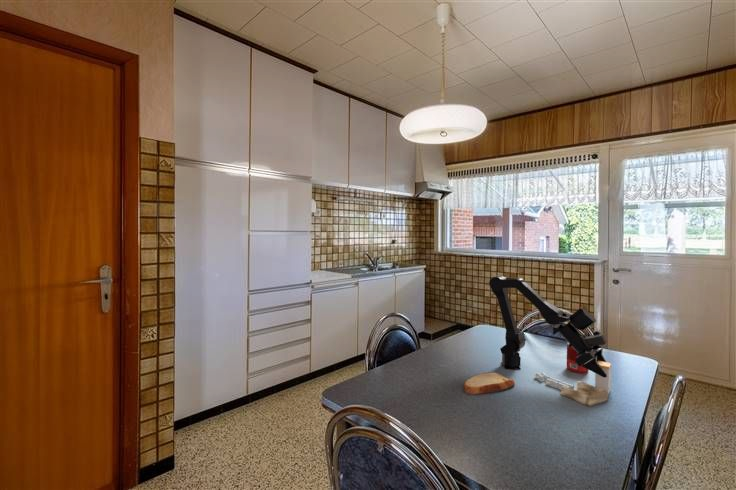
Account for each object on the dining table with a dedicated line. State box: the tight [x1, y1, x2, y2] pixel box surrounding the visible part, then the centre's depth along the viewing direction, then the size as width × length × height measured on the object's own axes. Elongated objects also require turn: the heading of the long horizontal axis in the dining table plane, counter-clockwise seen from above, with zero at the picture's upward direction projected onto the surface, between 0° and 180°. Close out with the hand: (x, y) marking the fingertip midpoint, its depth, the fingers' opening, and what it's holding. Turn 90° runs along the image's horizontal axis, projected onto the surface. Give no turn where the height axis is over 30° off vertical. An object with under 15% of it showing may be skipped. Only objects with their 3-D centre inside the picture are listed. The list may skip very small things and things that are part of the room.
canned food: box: [566, 342, 590, 374], centre depth 145 cm, size 8×8×11 cm
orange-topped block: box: [594, 361, 612, 395], centre depth 126 cm, size 4×5×10 cm
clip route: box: [534, 371, 575, 391], centre depth 131 cm, size 6×14×2 cm, turn 21°
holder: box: [559, 380, 609, 408], centre depth 121 cm, size 10×10×3 cm
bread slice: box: [463, 372, 516, 395], centre depth 129 cm, size 18×18×4 cm
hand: (607, 373), depth 125 cm, fingers open, 8 cm apart
